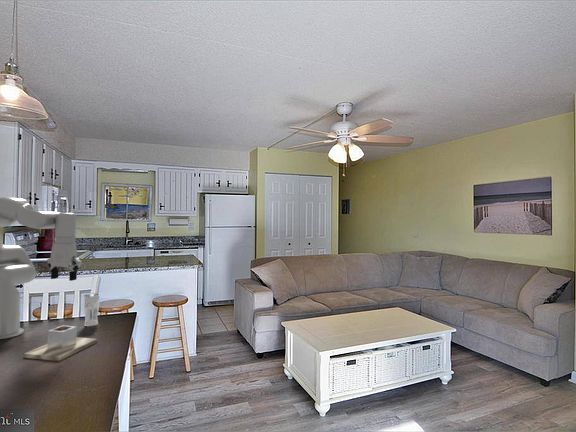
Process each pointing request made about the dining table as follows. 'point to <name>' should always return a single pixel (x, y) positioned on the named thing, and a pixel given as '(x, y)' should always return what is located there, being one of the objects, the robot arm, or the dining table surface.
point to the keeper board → (59, 354)
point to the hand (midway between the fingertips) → (63, 279)
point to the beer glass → (91, 309)
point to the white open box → (62, 337)
